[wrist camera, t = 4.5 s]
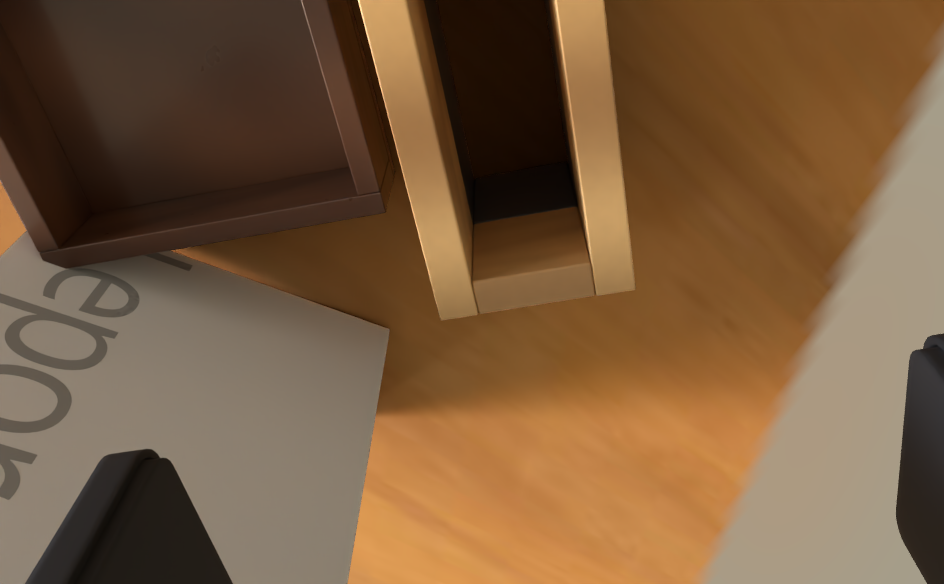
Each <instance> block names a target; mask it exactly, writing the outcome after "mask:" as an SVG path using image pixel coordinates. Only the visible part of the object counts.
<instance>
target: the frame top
mask: <svg viewBox="0 0 944 584" xmlns="http://www.w3.org/2000/svg"><path fill="white" fill-rule="evenodd" d="M358 3H359V7H360V11H361V14H362V18H363V22H364V26H365V30H366V34H367V38H368V42H369V45H370V49H371V53H372V57H373V61H374V65H375V69H376V72H377V76H378V80H379V84H380V88H381V92H382V96H383V100H384V103H385V107H386V111H387V115H388V119H389V123H390V127H391V131H392V134H393V138H394V142H395V146H396V150H397V154H398V158H399V162H400V165H401V169H402V173H403V177H404V181H405V185H406V189H407V192H408V196H409V200H410V204H411V208H412V212H413V216H414V220H415V223H416V227H417V231H418V235H419V239H420V243H421V247H422V251H423V254H424V258H425V262H426V266H427V270H428V274H429V278H430V281H431V285H432V289H433V293H434V297H435V301H436V305H437V309H438V312H439V316H440V319H441V320H442V321H443V320H449V319H456V318H462V317H468V316H474V315H478V312H479V313H480V314H485V313H491V312H498V311H504V310H510V309H516V308H523V307H529V306H535V305H541V304H548V303H554V302H560V301H566V300H573V299H579V298H585V297H591V296H595V293H596V295H597V296H601V295H607V294H613V293H619V292H626V291H632V290H635V289H636V286H635V277H634V268H633V259H632V250H631V241H630V231H629V222H628V213H627V204H626V195H625V186H624V176H623V167H622V158H621V149H620V140H619V131H618V121H617V112H616V103H615V94H614V85H613V76H612V66H611V57H610V48H609V39H608V30H607V21H606V11H605V2H604V0H549V6H550V13H551V20H552V27H553V34H554V41H555V48H556V55H557V62H558V69H559V76H560V83H561V90H562V97H563V104H564V111H565V118H566V125H567V132H568V139H569V146H570V153H571V160H572V167H573V174H574V181H575V188H576V195H577V202H578V207H571V208H565V209H559V210H553V211H547V212H542V213H536V214H530V215H524V216H518V217H513V218H507V219H501V220H495V221H489V222H484V223H478V224H474V226H473V223H472V218H471V214H470V209H469V205H468V200H467V196H466V191H465V186H464V182H463V177H462V173H461V168H460V164H459V159H458V154H457V150H456V145H455V141H454V136H453V131H452V127H451V122H450V118H449V113H448V109H447V104H446V99H445V95H444V90H443V86H442V81H441V77H440V72H439V67H438V63H437V58H436V54H435V49H434V44H433V40H432V35H431V31H430V26H429V22H428V17H427V12H426V8H425V3H424V0H358Z"/></svg>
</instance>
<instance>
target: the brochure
mask: <svg viewBox="0 0 944 584" xmlns="http://www.w3.org/2000/svg"><path fill="white" fill-rule="evenodd" d="M39 253H40V252H38V251H37V249H36V247H35V245H34V243H33V241H32V239H31V237H30V236H29V234H28V232H27V231H26V232H25V233H24V234H23V235H22V236H21V237H20V238H19V239H18V240H17V241H16V242H15V243H14V244H13V245H12V246H11V247H10V248H9V249H7V250H6V251H5V252H4V253H3V254H2V255H1V256H0V584H25V582H26V581H27V579H28V578H29V576H30V574H31V573H32V571H33V569H34V568H35V566H36V564H37V563H38V561H39V560H40V558H41V556H42V555H43V553H44V551H45V550H46V548H47V546H48V545H49V543H50V541H51V540H52V538H53V537H54V535H55V533H56V532H57V530H58V528H59V527H60V525H61V523H62V522H63V520H64V519H65V517H66V515H67V514H68V512H69V510H70V509H71V507H72V505H73V504H74V502H75V500H76V499H77V497H78V496H79V494H80V492H81V491H82V489H83V487H84V486H85V484H86V482H87V481H88V479H89V477H90V476H91V474H92V473H93V471H94V469H95V468H96V466H97V464H98V463H99V461H100V460H101V459H102V458H103V457H104V456H106V455H108V454H114V453H120V452H127V451H134V450H141V449H152V450H154V451H155V452H156V453H157V454H158V455H159V457H160V458H167V459H169V460H170V461H171V462H172V464H173V465H174V467H175V469H176V471H177V473H178V475H179V477H180V479H181V481H182V483H183V485H184V487H185V489H186V491H187V493H188V495H189V497H190V499H191V501H192V503H193V505H194V507H195V509H196V511H197V513H198V515H199V517H200V519H201V521H202V523H203V525H204V527H205V529H206V531H207V533H208V535H209V537H210V539H211V541H212V543H213V545H214V547H215V549H216V551H217V553H218V555H219V557H220V559H221V561H222V563H223V565H224V567H225V569H226V571H227V573H228V575H229V577H230V579H231V581H232V583H233V584H347V582H348V577H349V571H350V565H351V559H352V553H353V547H354V541H355V535H356V529H357V523H358V517H359V511H360V505H361V499H362V493H363V487H364V481H365V476H366V470H367V464H368V458H369V452H370V446H371V440H372V434H373V428H374V422H375V416H376V410H377V404H378V398H379V392H380V386H381V381H382V375H383V369H384V363H385V357H386V351H387V345H388V339H389V331H390V329H387V328H385V327H382V326H379V325H376V324H373V323H371V322H368V321H365V320H362V319H359V318H357V317H354V316H351V315H348V314H345V313H343V312H340V311H337V310H334V309H332V308H329V307H326V306H323V305H320V304H318V303H315V302H312V301H309V300H306V299H304V298H301V297H298V296H295V295H292V294H290V293H287V292H284V291H281V290H278V289H276V288H273V287H270V286H267V285H264V284H262V283H259V282H256V281H253V280H250V279H248V278H245V277H242V276H239V275H236V274H234V273H231V272H228V271H225V270H222V269H220V268H217V267H214V266H211V265H209V264H206V263H203V262H200V261H197V260H195V259H192V258H189V257H186V256H183V255H181V254H178V253H175V252H172V251H164V252H159V253H153V254H147V255H142V256H136V257H130V258H125V259H119V260H113V261H108V262H102V263H96V264H91V265H85V266H79V267H74V268H68V269H65V268H62V267H59V266H56V265H54V264H51V263H48V262H45V261H43V260H42V258H41V256H40V254H39Z"/></svg>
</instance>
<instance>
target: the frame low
mask: <svg viewBox="0 0 944 584" xmlns="http://www.w3.org/2000/svg"><path fill="white" fill-rule="evenodd" d="M424 3H425V8H426V12H427V17H428V22H429V26H430V31H431V35H432V40H433V44H434V49H435V54H436V58H437V63H438V67H439V72H440V77H441V81H442V86H443V90H444V95H445V99H446V104H447V109H448V113H449V118H450V122H451V127H452V131H453V136H454V141H455V145H456V150H457V154H458V159H459V164H460V168H461V173H462V177H463V182H464V186H465V191H466V196H467V200H468V205H469V209H470V214H471V218H472V223H473V226H474V224H478V223H484V222H489V221H495V220H501V219H507V218H513V217H518V216H524V215H530V214H536V213H542V212H547V211H553V210H559V209H565V208H571V207H578V202H577V195H576V188H575V181H574V174H573V167H572V160H571V153H570V146H569V139H568V132H567V125H566V118H565V111H564V104H563V97H562V90H561V83H560V76H559V69H558V62H557V55H556V48H555V41H554V34H553V27H552V20H551V13H550V6H549V0H544V3H545V10H546V17H547V24H548V30H549V37H550V44H551V51H552V58H553V65H554V72H555V78H556V85H557V92H558V99H559V106H560V113H561V120H562V127H563V133H564V140H565V147H566V154H567V161H568V163H567V162H562V163H556V164H551V165H545V166H540V167H534V168H528V169H523V170H517V171H512V172H506V173H500V174H495V175H489V176H484V177H478V178H475V180H474V175H473V171H472V166H471V161H470V156H469V152H468V147H467V142H466V137H465V133H464V128H463V123H462V118H461V114H460V109H459V104H458V99H457V95H456V90H455V85H454V81H453V76H452V71H451V66H450V62H449V57H448V52H447V47H446V43H445V38H444V33H443V28H442V24H441V19H440V14H439V9H438V5H437V0H424Z"/></svg>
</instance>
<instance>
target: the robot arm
mask: <svg viewBox="0 0 944 584" xmlns="http://www.w3.org/2000/svg"><path fill="white" fill-rule="evenodd" d="M896 519H897V524H898V529H899V532H900V534H901V537H902V540H903V542H904V544H905V546H906V547H907V549H908V551H909V553H910V554H911V556H912V558H913V560H914V561H915V563H916V565H917V567H918V568H919V570H920V572H921V574H922V575H923V577H924V579H925V580H926V582H927V584H944V334H938V335H932V336H930V337H928V338H927V339H926V341H925V343H924V347H923V349H920V350H915V351H913V352H912V354H911V356H910V360H909V370H908V382H907V392H906V404H905V415H904V426H903V438H902V449H901V460H900V472H899V483H898V495H897V505H896ZM25 584H233V583H232V581H231V579H230V577H229V575H228V573H227V571H226V569H225V567H224V565H223V563H222V561H221V559H220V557H219V555H218V553H217V551H216V549H215V547H214V545H213V543H212V541H211V539H210V537H209V535H208V533H207V531H206V529H205V527H204V525H203V523H202V521H201V519H200V517H199V515H198V513H197V511H196V509H195V507H194V505H193V503H192V501H191V499H190V497H189V495H188V493H187V491H186V489H185V487H184V485H183V483H182V481H181V479H180V477H179V475H178V473H177V471H176V469H175V467H174V465H173V464H172V462H171V461H170V460H169V459H167V458H160V457H159V455H158V454H157V453H156V452H155V451H154V450H152V449H141V450H134V451H127V452H120V453H114V454H108V455H106V456H104V457H103V458H102V459H101V460H100V461H99V463H98V464H97V466H96V468H95V469H94V471H93V473H92V474H91V476H90V477H89V479H88V481H87V482H86V484H85V486H84V487H83V489H82V491H81V492H80V494H79V496H78V497H77V499H76V500H75V502H74V504H73V505H72V507H71V509H70V510H69V512H68V514H67V515H66V517H65V519H64V520H63V522H62V523H61V525H60V527H59V528H58V530H57V532H56V533H55V535H54V537H53V538H52V540H51V541H50V543H49V545H48V546H47V548H46V550H45V551H44V553H43V555H42V556H41V558H40V560H39V561H38V563H37V564H36V566H35V568H34V569H33V571H32V573H31V574H30V576H29V578H28V579H27V581H26V582H25Z"/></svg>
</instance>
